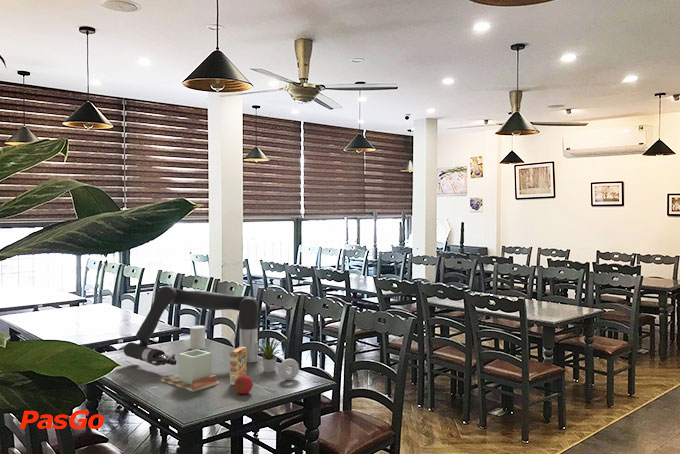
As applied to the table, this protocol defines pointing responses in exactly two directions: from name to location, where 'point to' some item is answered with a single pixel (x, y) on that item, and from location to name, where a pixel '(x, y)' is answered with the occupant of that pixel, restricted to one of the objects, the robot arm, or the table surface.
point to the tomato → (243, 384)
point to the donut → (293, 372)
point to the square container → (194, 365)
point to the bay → (176, 377)
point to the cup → (197, 337)
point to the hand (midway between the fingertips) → (175, 362)
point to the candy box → (237, 364)
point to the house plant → (269, 355)
